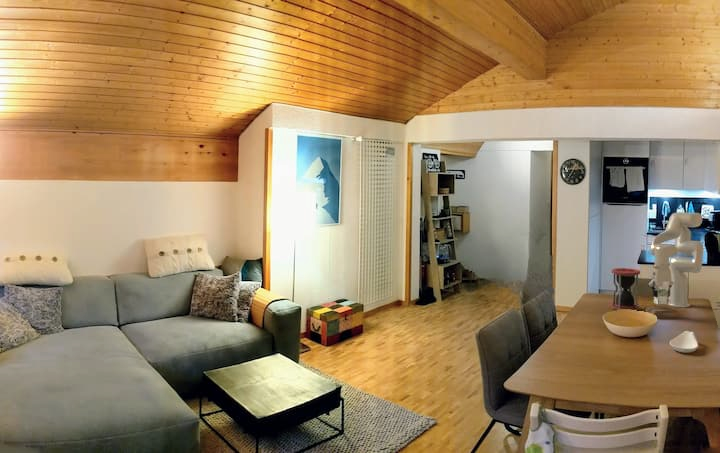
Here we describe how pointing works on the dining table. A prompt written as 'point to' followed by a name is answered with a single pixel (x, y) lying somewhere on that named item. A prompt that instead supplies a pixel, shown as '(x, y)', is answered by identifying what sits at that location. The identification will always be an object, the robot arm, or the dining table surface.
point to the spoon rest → (685, 342)
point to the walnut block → (661, 312)
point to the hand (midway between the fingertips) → (660, 296)
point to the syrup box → (662, 294)
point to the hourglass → (625, 288)
